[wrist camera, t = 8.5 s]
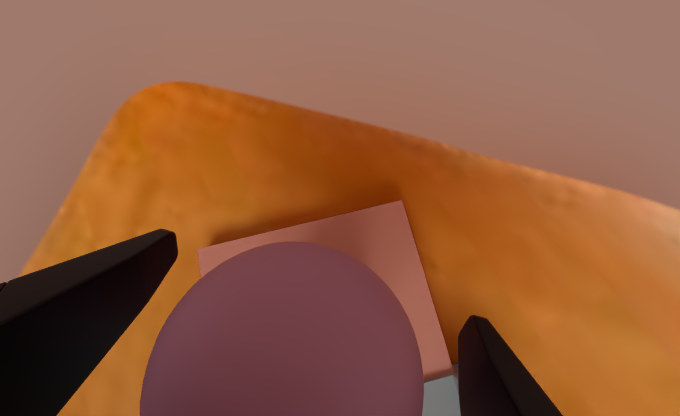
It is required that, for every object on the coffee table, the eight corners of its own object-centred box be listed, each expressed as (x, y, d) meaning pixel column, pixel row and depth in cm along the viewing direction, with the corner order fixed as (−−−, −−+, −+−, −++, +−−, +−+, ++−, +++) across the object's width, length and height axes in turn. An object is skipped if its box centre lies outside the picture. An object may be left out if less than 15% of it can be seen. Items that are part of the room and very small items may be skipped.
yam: (312, 384, 16) (208, 863, 3) (251, 303, 17) (-38, 407, 4) (387, 315, 17) (564, 463, 4) (326, 240, 17) (296, 151, 4)
